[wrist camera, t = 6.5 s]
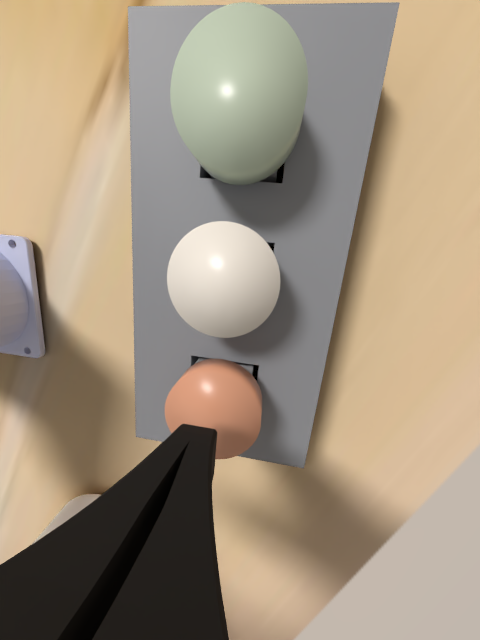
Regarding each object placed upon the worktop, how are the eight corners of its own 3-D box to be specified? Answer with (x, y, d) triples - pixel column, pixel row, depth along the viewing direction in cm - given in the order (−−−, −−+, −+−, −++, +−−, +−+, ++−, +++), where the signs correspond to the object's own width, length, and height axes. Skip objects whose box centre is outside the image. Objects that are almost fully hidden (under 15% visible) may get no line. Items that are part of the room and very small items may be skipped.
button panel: (298, 436, 15) (303, 468, 13) (155, 411, 16) (136, 436, 14) (370, 62, 10) (399, 2, 8) (158, 60, 11) (127, 6, 9)
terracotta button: (193, 398, 15) (163, 449, 11) (196, 335, 14) (165, 365, 10) (259, 409, 15) (255, 467, 11) (268, 345, 14) (266, 381, 10)
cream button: (197, 310, 14) (165, 330, 10) (201, 231, 13) (167, 216, 9) (272, 319, 13) (272, 344, 9) (282, 238, 12) (288, 226, 8)
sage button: (203, 199, 12) (168, 167, 8) (208, 99, 11) (171, 3, 7) (287, 205, 12) (295, 175, 8) (301, 102, 11) (320, 1, 7)
